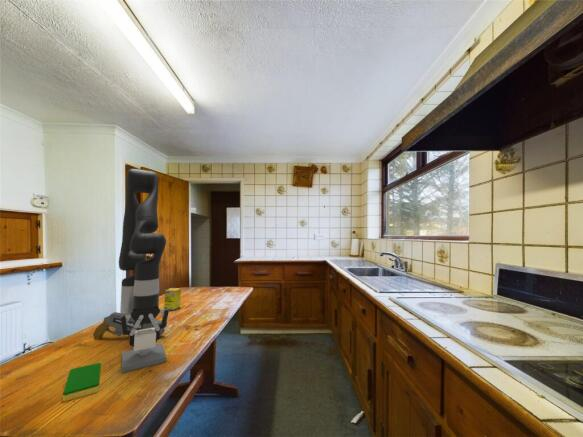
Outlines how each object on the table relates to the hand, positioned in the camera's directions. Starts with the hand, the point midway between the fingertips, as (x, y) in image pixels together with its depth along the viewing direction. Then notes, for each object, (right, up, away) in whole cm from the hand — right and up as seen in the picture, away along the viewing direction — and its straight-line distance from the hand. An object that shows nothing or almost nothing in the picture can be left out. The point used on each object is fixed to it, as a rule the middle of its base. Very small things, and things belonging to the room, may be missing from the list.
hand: (144, 343), depth 83 cm
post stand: (0, -5, 0) cm, 5 cm away
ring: (0, -1, 0) cm, 1 cm away
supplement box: (-17, -9, +54) cm, 58 cm away
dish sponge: (-9, -5, -14) cm, 17 cm away
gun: (-16, -6, +17) cm, 24 cm away
